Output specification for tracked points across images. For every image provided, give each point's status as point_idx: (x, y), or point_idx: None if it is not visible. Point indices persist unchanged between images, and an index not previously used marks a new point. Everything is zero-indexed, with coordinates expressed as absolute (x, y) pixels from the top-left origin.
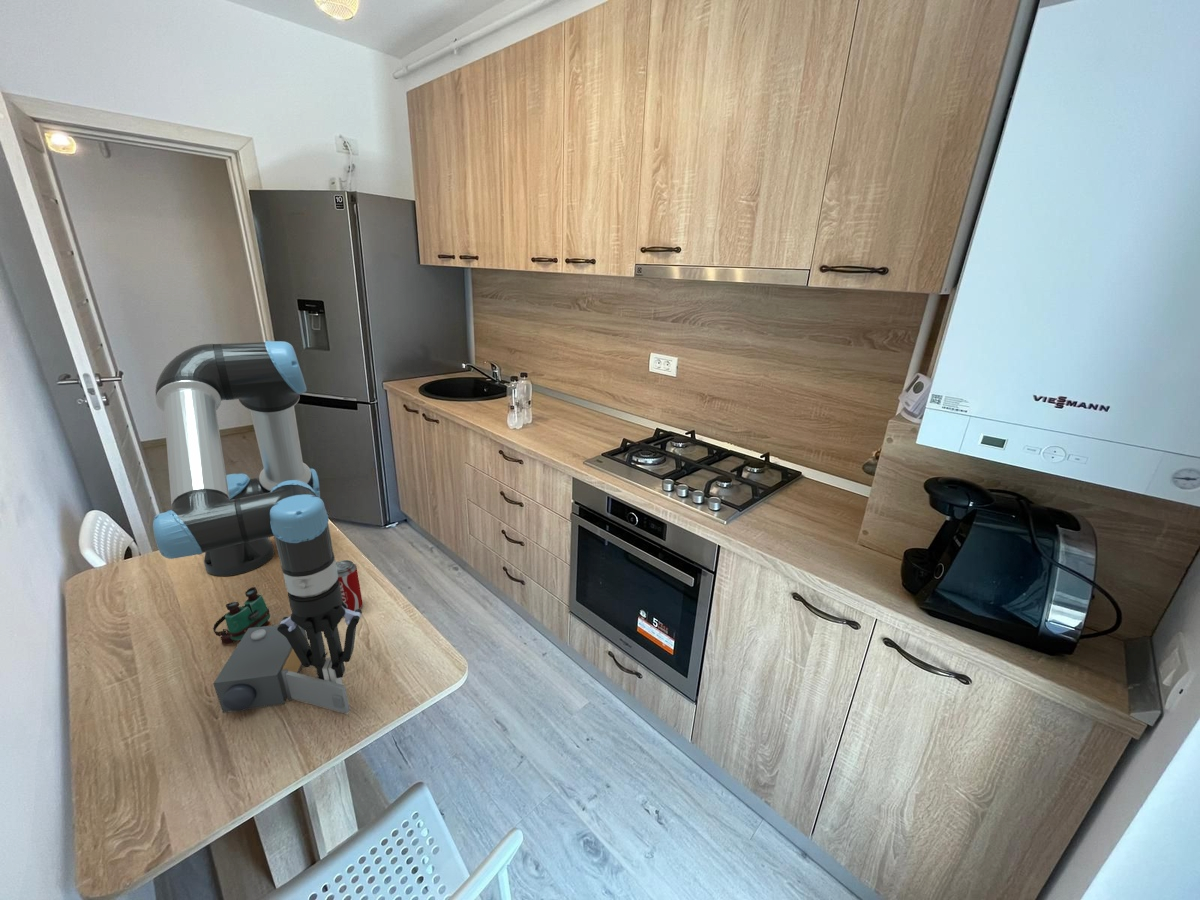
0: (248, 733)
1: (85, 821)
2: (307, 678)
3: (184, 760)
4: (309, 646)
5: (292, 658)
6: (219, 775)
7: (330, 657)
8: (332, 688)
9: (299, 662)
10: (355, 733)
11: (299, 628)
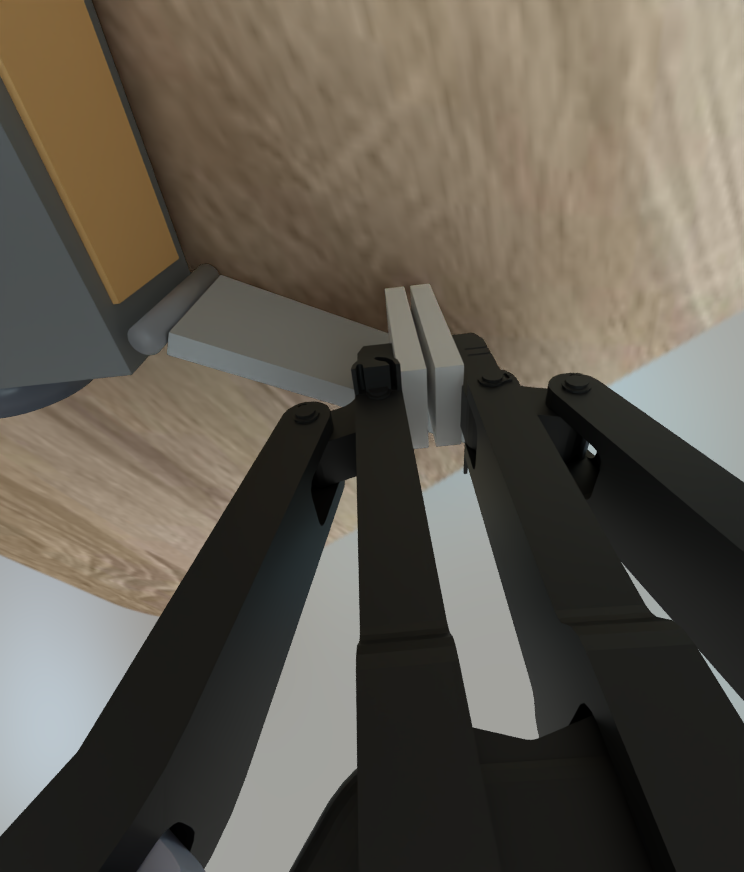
0: (167, 405)
1: (8, 557)
2: (306, 388)
3: (62, 466)
4: (304, 476)
5: (69, 139)
6: (194, 501)
7: (422, 370)
8: None
9: (88, 45)
10: None
11: (198, 709)
